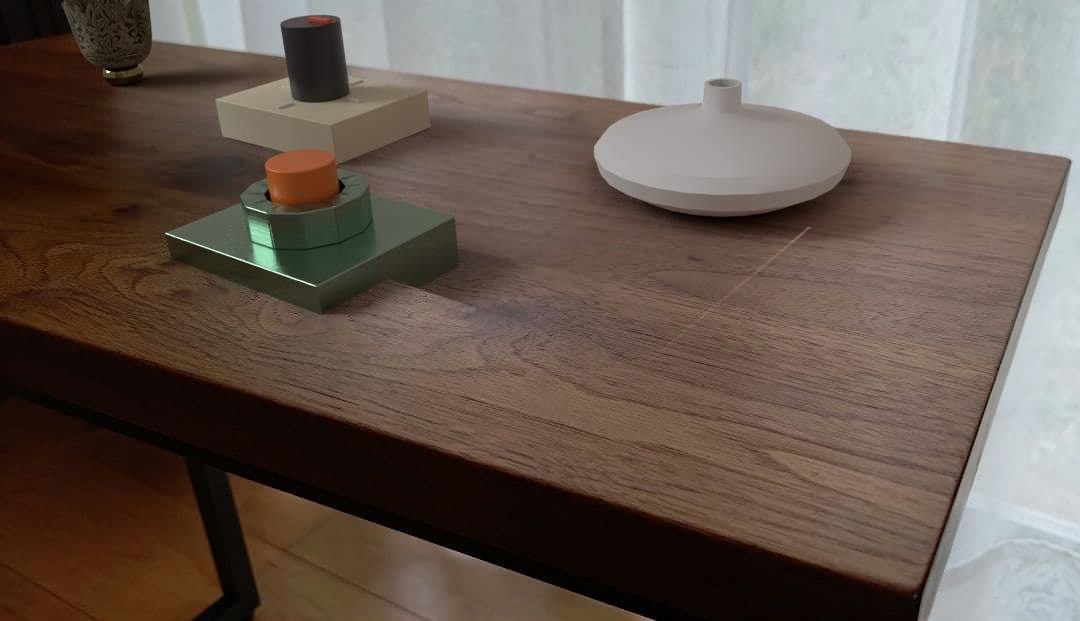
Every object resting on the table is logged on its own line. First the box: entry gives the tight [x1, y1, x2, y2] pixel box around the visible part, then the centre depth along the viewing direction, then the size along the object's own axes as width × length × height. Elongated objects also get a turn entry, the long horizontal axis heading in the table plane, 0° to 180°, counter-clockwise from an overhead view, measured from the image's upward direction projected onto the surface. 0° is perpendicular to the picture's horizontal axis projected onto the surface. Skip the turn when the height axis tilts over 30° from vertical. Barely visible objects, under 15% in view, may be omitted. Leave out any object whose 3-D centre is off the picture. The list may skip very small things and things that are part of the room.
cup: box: [61, 0, 153, 86], centre depth 92 cm, size 8×7×8 cm
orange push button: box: [264, 149, 340, 205], centre depth 52 cm, size 4×4×2 cm
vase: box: [593, 77, 852, 218], centre depth 62 cm, size 16×16×7 cm
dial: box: [279, 14, 350, 102], centre depth 75 cm, size 4×4×6 cm
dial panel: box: [215, 75, 432, 166], centre depth 77 cm, size 13×10×3 cm
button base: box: [164, 168, 460, 315], centre depth 54 cm, size 12×10×5 cm
